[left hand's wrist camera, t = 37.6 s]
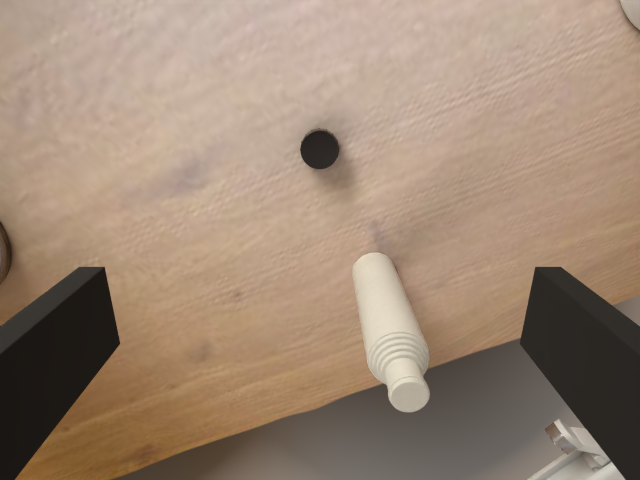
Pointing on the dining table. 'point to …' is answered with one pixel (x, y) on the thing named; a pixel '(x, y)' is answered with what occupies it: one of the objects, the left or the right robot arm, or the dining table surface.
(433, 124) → the dining table surface
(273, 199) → the dining table surface
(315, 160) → the cap
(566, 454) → the right robot arm
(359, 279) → the bottle
